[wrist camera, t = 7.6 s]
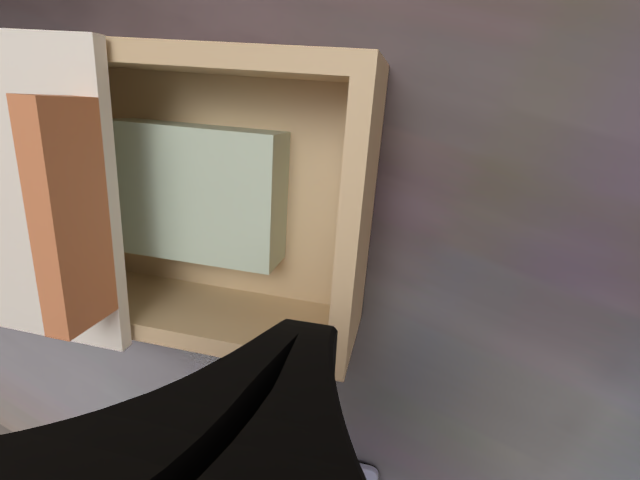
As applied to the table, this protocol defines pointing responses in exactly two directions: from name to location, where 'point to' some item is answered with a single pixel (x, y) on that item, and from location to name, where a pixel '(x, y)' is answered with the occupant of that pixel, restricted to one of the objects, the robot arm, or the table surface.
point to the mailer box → (244, 187)
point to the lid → (60, 191)
